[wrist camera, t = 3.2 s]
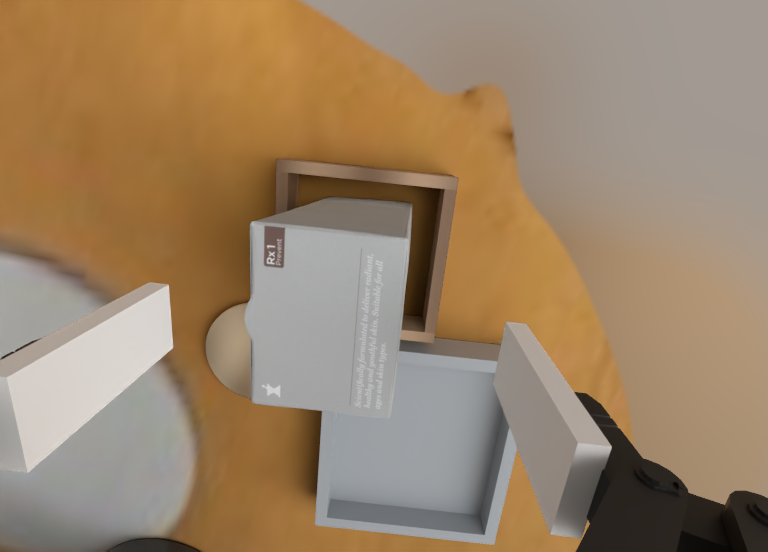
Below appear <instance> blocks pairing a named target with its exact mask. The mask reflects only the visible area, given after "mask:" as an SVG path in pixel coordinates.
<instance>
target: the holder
mask: <svg viewBox="0 0 768 552" xmlns="http://www.w3.org/2000/svg"><path fill="white" fill-rule="evenodd" d="M299 174H306V175H315V176H325V177H335V178H344V179H354V180H363V181H373V182H382V183H392V184H401V185H411V186H421V187H430V188H440V193H439V200H438V207H437V214H436V222H435V229H434V236H433V243H432V250H431V258H430V265H429V272H428V279H427V287H426V294H425V301H424V308H423V315H422V317H421V316H412V315H403V320H402V329H401V338H400V340H408V341H418V342H427V343H434V339H435V332H436V325H437V319H438V312H439V305H440V299H441V292H442V286H443V279H444V272H445V266H446V259H447V252H448V246H449V239H450V233H451V226H452V219H453V213H454V206H455V199H456V193H457V186H458V180H459V178H458V177H455V176H452V175H442V174H433V173H423V172H414V171H404V170H395V169H385V168H375V167H366V166H356V165H347V164H337V163H328V162H318V161H308V160H299V159H289V158H287V159H277V162H276V215H277V214H280V213H283V212H287V211H290V210H292V209H295V208H298V186H299Z"/></svg>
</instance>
